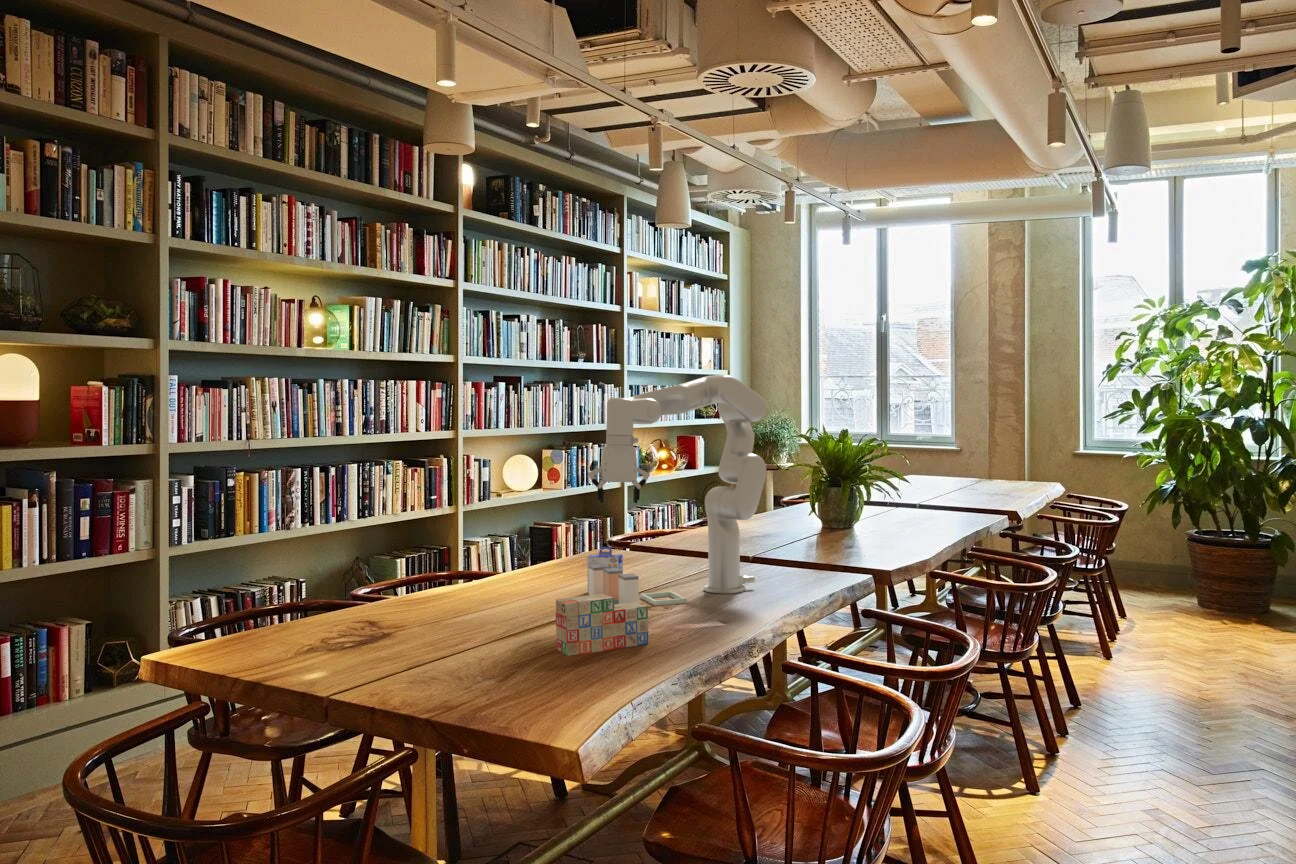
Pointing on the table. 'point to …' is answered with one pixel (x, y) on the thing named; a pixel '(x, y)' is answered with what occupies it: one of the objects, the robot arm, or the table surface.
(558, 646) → the stack of blocks
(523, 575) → the table surface
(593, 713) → the table surface
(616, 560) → the ink cartridge box
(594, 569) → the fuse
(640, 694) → the table surface
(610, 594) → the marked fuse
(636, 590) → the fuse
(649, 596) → the tray
